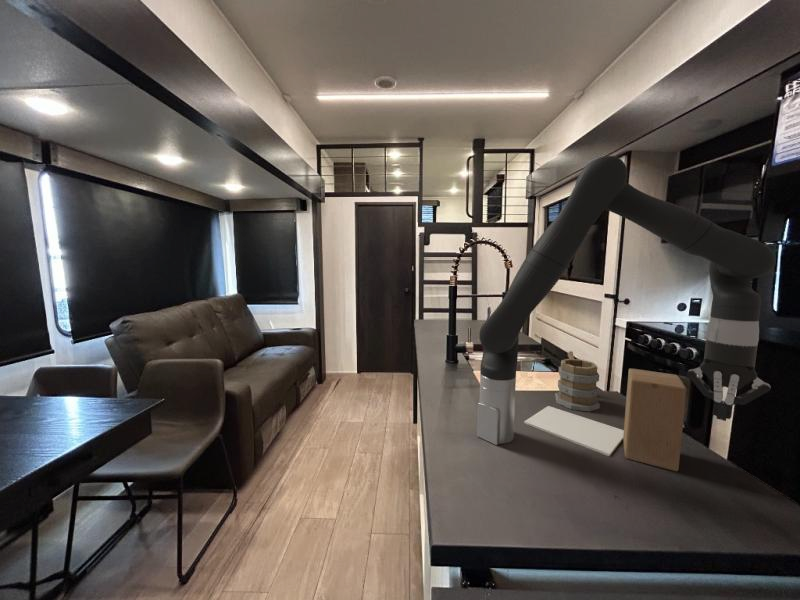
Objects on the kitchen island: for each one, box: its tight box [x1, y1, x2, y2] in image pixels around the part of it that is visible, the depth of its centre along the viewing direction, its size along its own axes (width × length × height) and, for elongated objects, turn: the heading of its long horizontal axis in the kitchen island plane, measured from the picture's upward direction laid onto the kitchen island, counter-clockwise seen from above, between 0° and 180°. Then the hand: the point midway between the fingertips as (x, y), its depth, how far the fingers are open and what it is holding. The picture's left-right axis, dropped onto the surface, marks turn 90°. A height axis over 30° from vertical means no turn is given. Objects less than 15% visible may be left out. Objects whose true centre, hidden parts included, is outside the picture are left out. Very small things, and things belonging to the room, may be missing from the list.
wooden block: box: [622, 368, 687, 472], centre depth 78 cm, size 10×10×20 cm
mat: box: [523, 405, 624, 457], centre depth 92 cm, size 16×22×1 cm
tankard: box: [554, 350, 601, 412], centre depth 112 cm, size 20×13×15 cm, turn 161°
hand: (721, 418), depth 69 cm, fingers closed
